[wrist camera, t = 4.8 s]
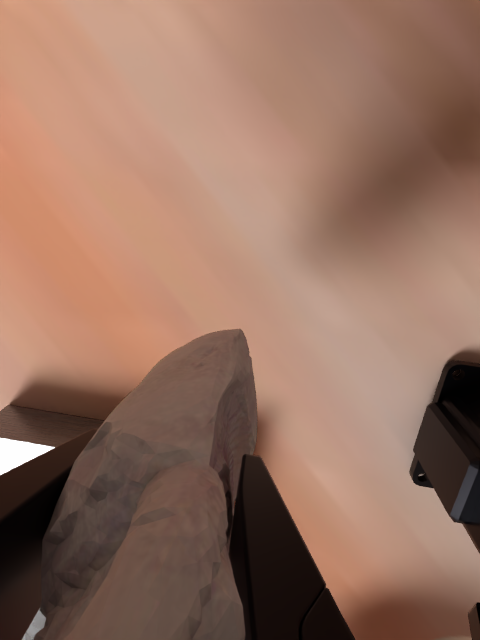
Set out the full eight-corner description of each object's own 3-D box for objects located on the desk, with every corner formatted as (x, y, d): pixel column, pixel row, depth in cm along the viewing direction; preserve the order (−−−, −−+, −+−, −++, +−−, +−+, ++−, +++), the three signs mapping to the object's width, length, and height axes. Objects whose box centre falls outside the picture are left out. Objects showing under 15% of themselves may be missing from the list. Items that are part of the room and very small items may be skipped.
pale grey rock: (261, 467, 13) (158, 1215, 3) (164, 448, 13) (-178, 1072, 4) (287, 306, 11) (220, 947, 2) (173, 289, 11) (-454, 718, 2)
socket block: (233, 442, 19) (227, 477, 16) (206, 629, 23) (199, 677, 21) (8, 404, 19) (-29, 432, 17) (23, 593, 24) (-4, 636, 21)
